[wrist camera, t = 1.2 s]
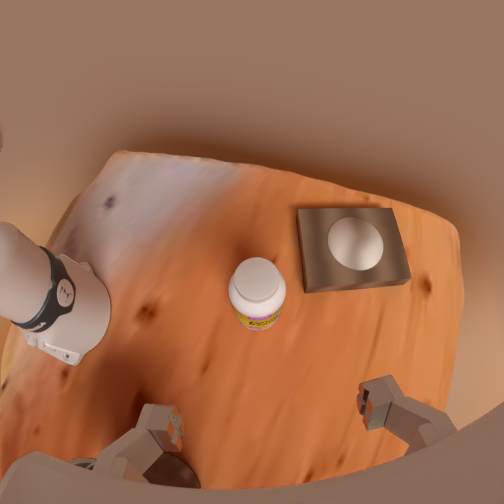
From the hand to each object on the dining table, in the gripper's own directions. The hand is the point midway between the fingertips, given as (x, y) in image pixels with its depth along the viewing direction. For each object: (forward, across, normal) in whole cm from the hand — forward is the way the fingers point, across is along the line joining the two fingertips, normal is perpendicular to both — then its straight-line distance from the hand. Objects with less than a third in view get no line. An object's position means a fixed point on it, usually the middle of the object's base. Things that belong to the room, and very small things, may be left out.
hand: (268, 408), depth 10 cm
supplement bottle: (+28, +1, +10) cm, 29 cm away
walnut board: (+33, -15, +5) cm, 37 cm away
